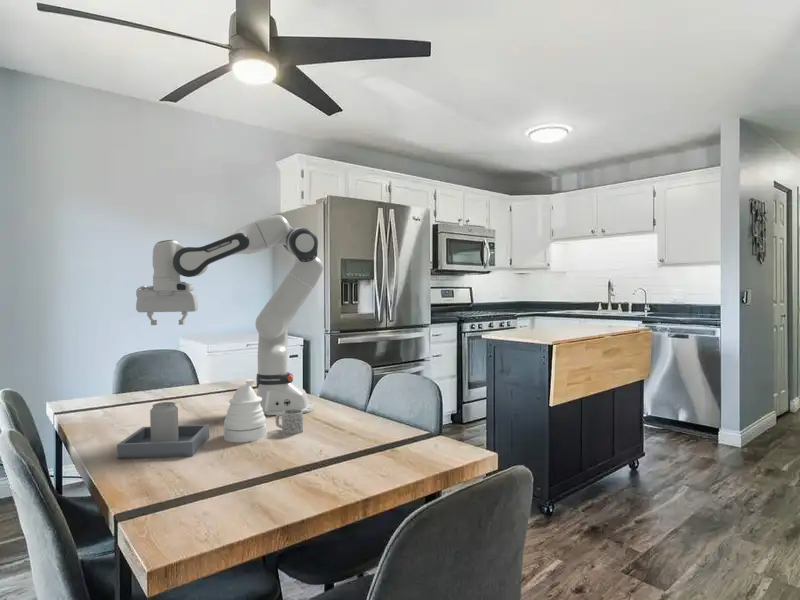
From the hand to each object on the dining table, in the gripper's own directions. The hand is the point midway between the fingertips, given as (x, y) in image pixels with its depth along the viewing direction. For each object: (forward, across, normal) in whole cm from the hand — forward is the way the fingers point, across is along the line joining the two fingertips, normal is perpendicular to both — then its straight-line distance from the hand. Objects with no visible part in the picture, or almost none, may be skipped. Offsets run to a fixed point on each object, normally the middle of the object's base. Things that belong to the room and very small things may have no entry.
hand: (167, 324), depth 181 cm
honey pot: (+34, +31, -24) cm, 52 cm away
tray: (+34, +10, -33) cm, 48 cm away
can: (+33, +9, -33) cm, 47 cm away
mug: (+34, +44, -20) cm, 59 cm away
